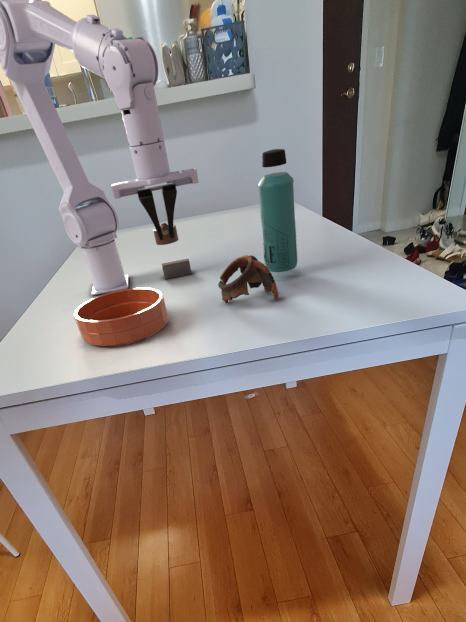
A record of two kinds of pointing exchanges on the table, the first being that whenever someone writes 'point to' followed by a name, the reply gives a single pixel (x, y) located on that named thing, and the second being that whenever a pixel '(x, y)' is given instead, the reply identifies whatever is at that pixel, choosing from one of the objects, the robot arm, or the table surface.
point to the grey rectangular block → (176, 268)
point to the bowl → (121, 316)
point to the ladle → (165, 235)
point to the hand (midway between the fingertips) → (166, 237)
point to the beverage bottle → (278, 215)
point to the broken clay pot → (246, 278)
